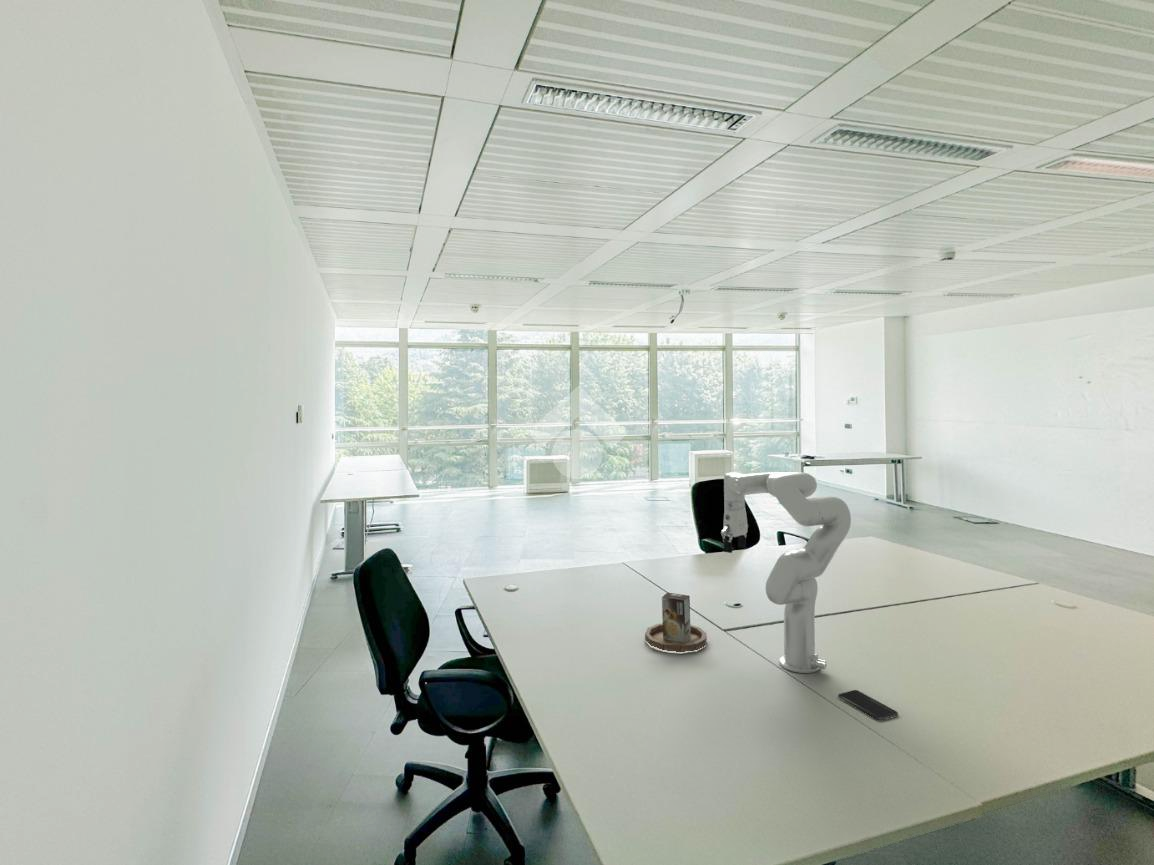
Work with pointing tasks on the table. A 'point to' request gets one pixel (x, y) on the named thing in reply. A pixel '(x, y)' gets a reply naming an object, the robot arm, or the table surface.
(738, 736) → the table surface
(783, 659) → the robot arm
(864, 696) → the phone
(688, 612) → the coffee box
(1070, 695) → the table surface
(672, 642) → the round tray
